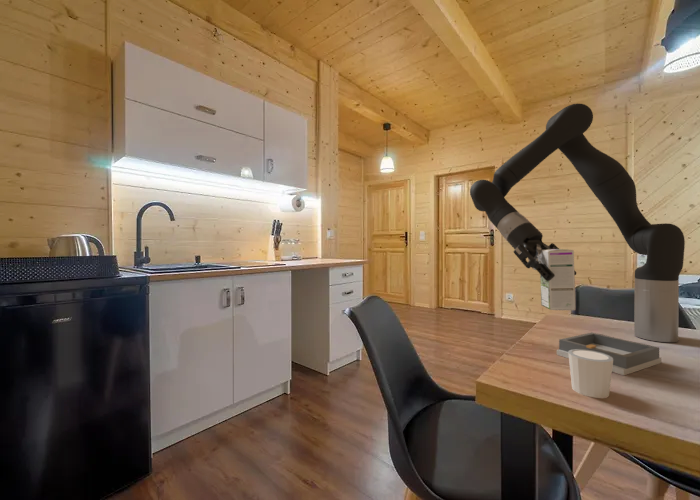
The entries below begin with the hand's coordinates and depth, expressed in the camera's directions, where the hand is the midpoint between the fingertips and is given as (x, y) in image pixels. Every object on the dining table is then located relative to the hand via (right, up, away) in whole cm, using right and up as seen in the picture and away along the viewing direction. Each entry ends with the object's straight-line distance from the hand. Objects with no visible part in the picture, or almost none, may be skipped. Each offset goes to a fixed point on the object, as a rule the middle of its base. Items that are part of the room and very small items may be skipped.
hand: (562, 277), depth 76 cm
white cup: (-6, -20, -16) cm, 27 cm away
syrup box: (0, -8, +1) cm, 8 cm away
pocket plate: (+11, -20, 0) cm, 22 cm away
